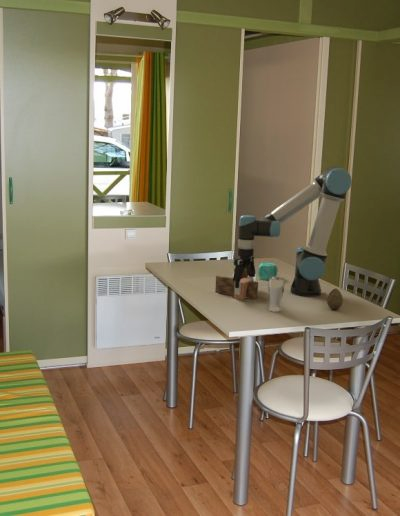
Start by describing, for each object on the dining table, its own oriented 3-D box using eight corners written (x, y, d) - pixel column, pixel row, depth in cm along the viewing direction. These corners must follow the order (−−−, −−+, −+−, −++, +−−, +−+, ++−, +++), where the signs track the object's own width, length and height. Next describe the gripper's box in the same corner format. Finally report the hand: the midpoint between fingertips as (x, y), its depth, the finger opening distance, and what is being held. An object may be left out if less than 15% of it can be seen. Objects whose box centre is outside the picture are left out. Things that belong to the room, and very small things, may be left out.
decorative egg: (324, 307, 319) (325, 286, 317) (339, 307, 320) (341, 286, 318) (328, 311, 312) (330, 290, 310) (343, 311, 313) (345, 290, 311)
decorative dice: (270, 281, 368) (271, 266, 367) (257, 278, 373) (258, 264, 371) (277, 278, 375) (278, 264, 373) (264, 276, 379) (265, 262, 378)
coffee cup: (247, 290, 345) (249, 261, 342) (231, 289, 347) (232, 260, 344) (249, 286, 353) (251, 258, 350) (233, 285, 355) (235, 257, 352)
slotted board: (257, 298, 331) (258, 282, 329) (255, 299, 329) (256, 283, 327) (217, 291, 342) (218, 275, 340) (215, 291, 340) (216, 276, 338)
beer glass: (272, 307, 316) (274, 275, 313) (285, 310, 311) (287, 278, 308) (264, 310, 310) (266, 277, 307) (277, 313, 306) (279, 280, 303)
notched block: (243, 293, 339) (244, 277, 337) (252, 295, 336) (253, 279, 335) (233, 297, 331) (234, 281, 329) (243, 299, 328) (243, 283, 326)
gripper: (250, 243, 341) (248, 286, 345) (226, 250, 321) (224, 295, 325) (264, 245, 337) (261, 288, 341) (241, 252, 317) (238, 298, 321)
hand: (243, 292), depth 333 cm, fingers open, 12 cm apart
